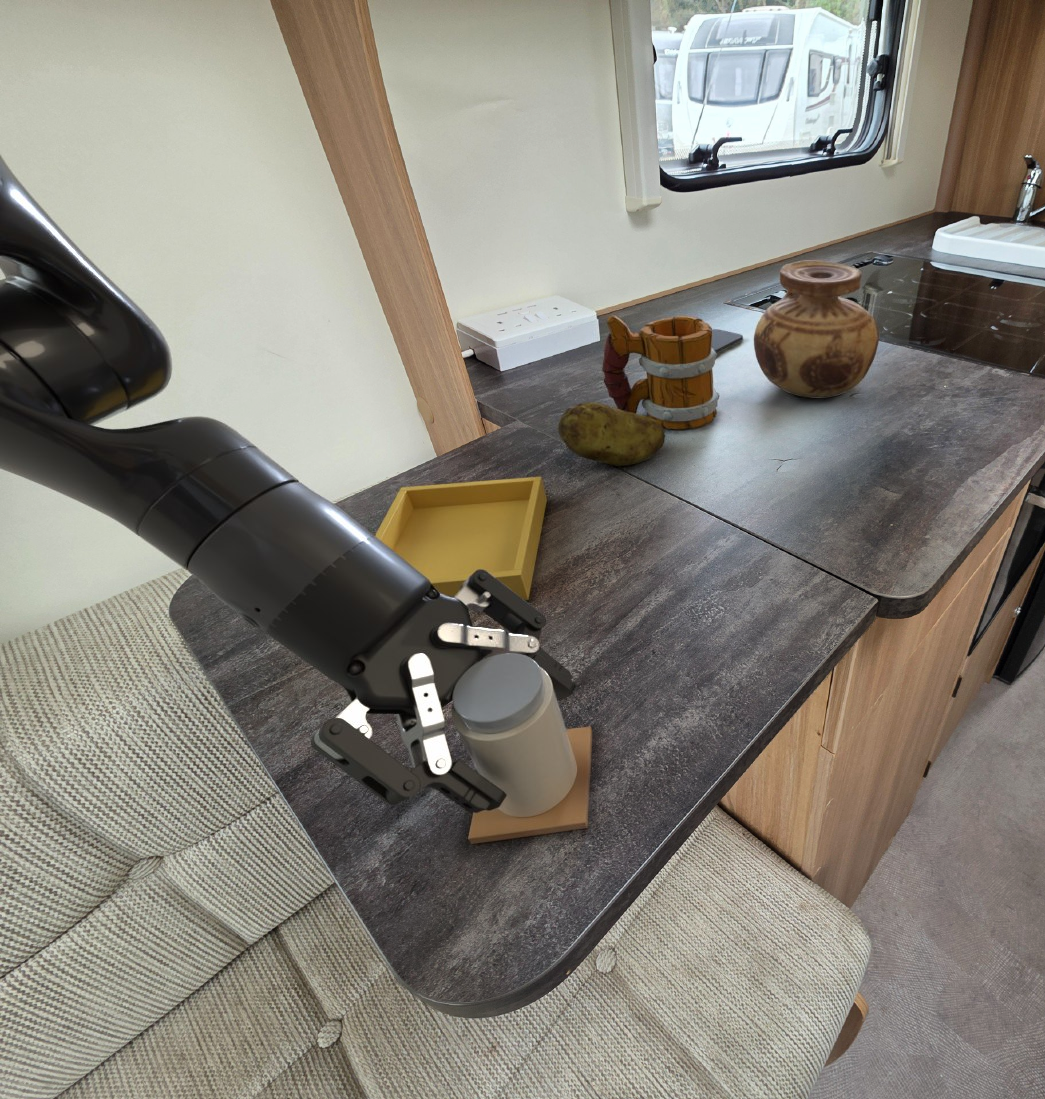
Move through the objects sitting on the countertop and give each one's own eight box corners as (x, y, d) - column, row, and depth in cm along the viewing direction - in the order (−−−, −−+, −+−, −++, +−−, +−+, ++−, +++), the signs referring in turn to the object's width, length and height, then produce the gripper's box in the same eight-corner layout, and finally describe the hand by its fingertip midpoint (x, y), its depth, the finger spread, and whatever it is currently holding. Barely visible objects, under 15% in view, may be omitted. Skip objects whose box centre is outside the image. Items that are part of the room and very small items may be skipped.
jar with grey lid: (558, 823, 40) (523, 734, 33) (474, 811, 40) (424, 721, 34) (588, 745, 44) (563, 653, 38) (512, 735, 45) (475, 643, 39)
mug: (726, 426, 86) (725, 320, 76) (611, 439, 83) (595, 330, 74) (713, 395, 94) (710, 296, 84) (608, 406, 91) (592, 304, 82)
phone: (745, 335, 113) (697, 359, 103) (745, 339, 113) (698, 364, 104) (714, 328, 116) (664, 350, 106) (714, 332, 117) (665, 355, 107)
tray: (528, 600, 58) (520, 574, 56) (358, 617, 56) (344, 591, 54) (547, 499, 71) (541, 476, 69) (411, 511, 70) (400, 487, 68)
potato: (664, 475, 75) (658, 417, 70) (562, 478, 75) (549, 420, 70) (667, 443, 82) (662, 388, 77) (573, 446, 82) (562, 390, 77)
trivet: (587, 828, 40) (585, 822, 40) (471, 844, 39) (467, 838, 39) (592, 732, 46) (590, 726, 46) (491, 744, 45) (488, 738, 45)
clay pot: (910, 380, 90) (886, 252, 77) (804, 441, 91) (760, 324, 77) (850, 338, 104) (820, 223, 91) (758, 390, 105) (714, 284, 91)
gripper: (211, 647, 27) (497, 842, 31) (425, 483, 37) (615, 647, 42) (191, 693, 31) (443, 858, 36) (387, 536, 42) (562, 678, 46)
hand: (536, 744), depth 39 cm, fingers open, 8 cm apart
